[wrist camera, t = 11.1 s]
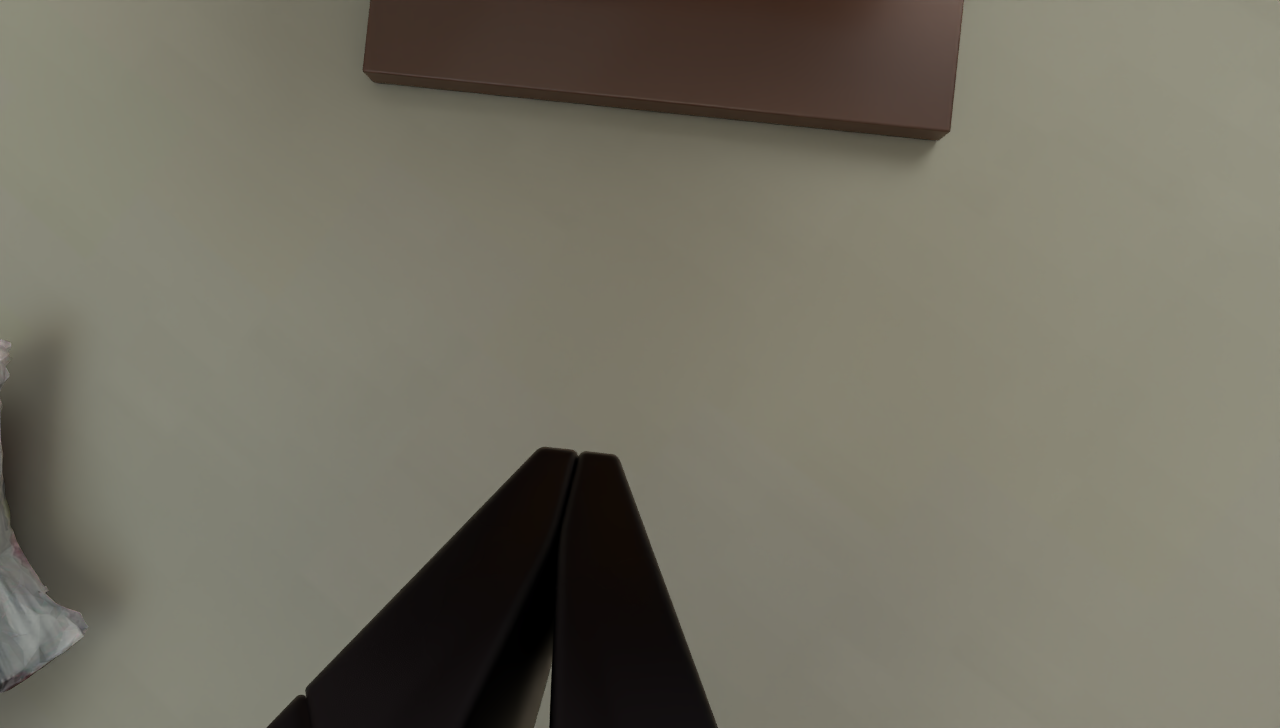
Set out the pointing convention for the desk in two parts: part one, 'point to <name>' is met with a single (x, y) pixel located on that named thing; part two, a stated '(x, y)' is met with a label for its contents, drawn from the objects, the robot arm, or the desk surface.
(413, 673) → the robot arm
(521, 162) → the desk surface
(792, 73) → the shelf
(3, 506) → the packaged food
